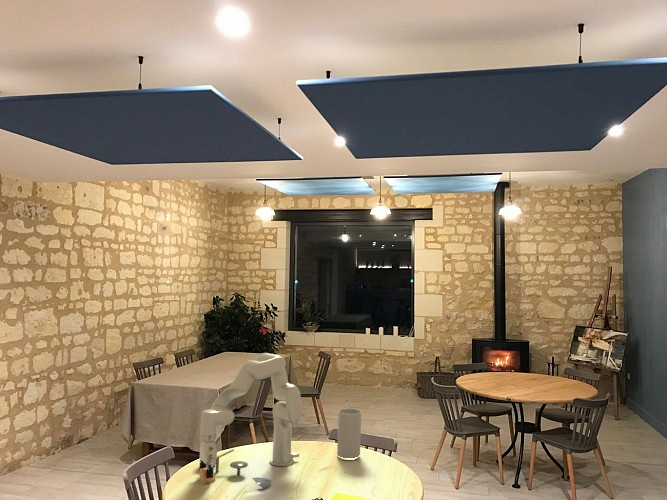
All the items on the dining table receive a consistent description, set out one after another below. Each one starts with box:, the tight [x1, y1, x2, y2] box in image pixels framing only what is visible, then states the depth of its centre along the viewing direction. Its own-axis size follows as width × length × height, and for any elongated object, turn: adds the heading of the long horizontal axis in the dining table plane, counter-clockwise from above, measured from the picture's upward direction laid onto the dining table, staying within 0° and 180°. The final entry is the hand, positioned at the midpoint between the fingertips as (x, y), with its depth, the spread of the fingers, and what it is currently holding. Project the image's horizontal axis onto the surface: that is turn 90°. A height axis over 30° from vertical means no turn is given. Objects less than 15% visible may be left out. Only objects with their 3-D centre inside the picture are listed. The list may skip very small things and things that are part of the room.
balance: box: [196, 448, 249, 485], centre depth 254 cm, size 24×14×11 cm, turn 122°
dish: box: [251, 476, 272, 491], centre depth 248 cm, size 12×12×1 cm
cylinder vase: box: [336, 407, 362, 458], centre depth 291 cm, size 12×12×25 cm
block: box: [198, 468, 214, 483], centre depth 247 cm, size 5×5×5 cm
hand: (205, 474), depth 247 cm, fingers open, 9 cm apart
